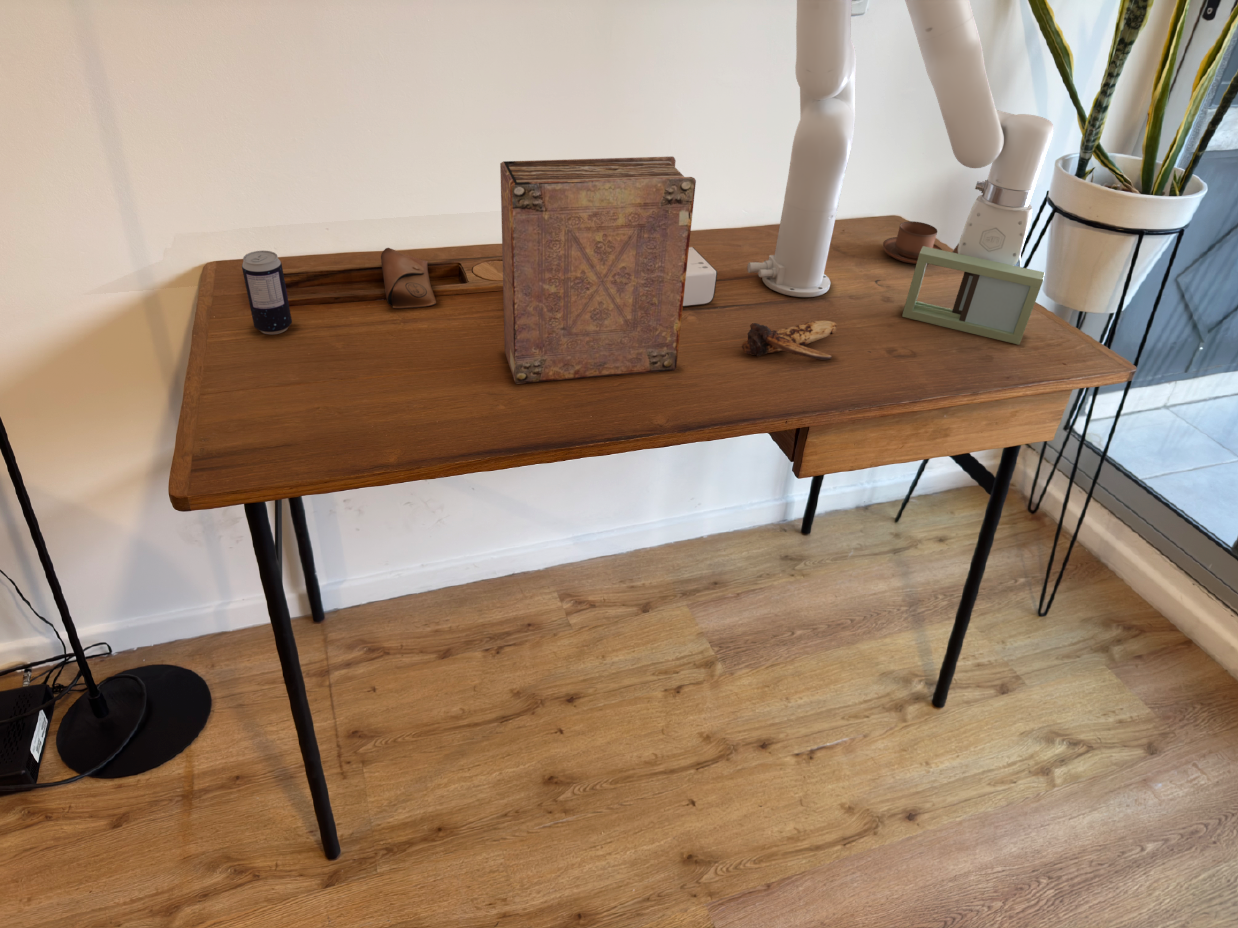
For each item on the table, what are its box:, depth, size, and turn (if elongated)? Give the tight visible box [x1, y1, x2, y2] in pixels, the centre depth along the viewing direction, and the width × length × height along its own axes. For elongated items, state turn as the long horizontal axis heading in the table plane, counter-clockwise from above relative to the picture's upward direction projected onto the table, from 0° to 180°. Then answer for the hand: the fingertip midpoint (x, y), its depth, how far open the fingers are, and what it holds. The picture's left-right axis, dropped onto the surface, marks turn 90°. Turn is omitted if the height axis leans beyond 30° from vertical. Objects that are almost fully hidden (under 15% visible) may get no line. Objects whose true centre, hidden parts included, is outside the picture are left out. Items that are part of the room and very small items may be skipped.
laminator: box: [683, 246, 718, 308], centre depth 154 cm, size 34×12×6 cm, turn 109°
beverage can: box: [241, 250, 293, 335], centre depth 136 cm, size 6×6×12 cm
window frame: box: [901, 246, 1045, 346], centre depth 152 cm, size 20×4×12 cm, turn 65°
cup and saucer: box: [882, 220, 943, 265], centre depth 177 cm, size 12×12×6 cm
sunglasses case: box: [380, 247, 437, 310], centre depth 154 cm, size 18×7×7 cm, turn 16°
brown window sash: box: [952, 271, 974, 315], centre depth 154 cm, size 9×7×8 cm
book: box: [499, 155, 697, 385], centre depth 128 cm, size 25×9×30 cm, turn 106°
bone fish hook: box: [741, 319, 838, 361], centre depth 143 cm, size 9×5×18 cm
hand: (974, 294), depth 158 cm, fingers closed
